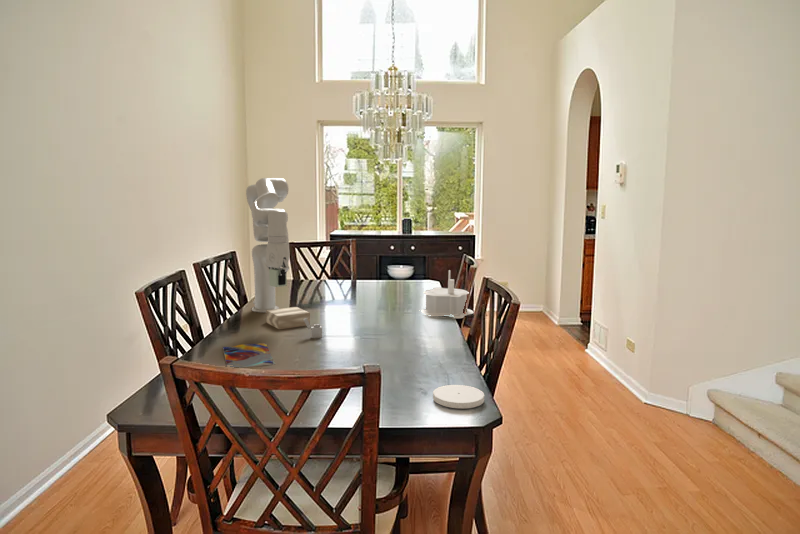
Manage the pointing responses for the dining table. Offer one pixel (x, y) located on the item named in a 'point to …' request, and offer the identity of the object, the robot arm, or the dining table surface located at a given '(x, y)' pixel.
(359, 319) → the dining table surface
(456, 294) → the birthday cake
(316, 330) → the lighter
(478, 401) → the plastic lid
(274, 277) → the sage block
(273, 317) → the birch block
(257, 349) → the relief map
